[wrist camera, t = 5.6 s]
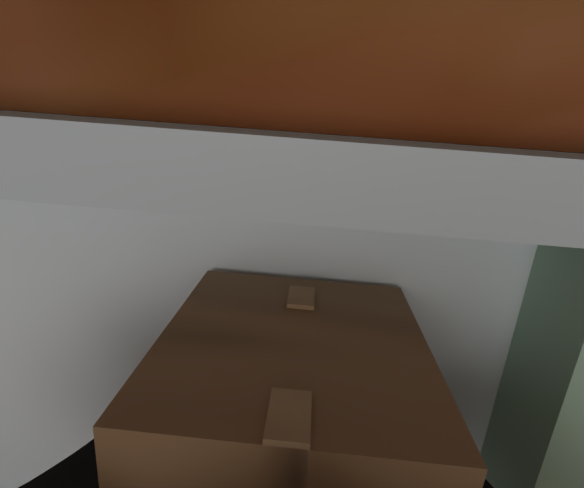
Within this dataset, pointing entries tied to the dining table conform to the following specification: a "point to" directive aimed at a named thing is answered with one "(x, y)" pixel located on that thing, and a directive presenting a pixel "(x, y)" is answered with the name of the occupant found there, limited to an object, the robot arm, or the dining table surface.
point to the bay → (288, 267)
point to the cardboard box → (287, 395)
